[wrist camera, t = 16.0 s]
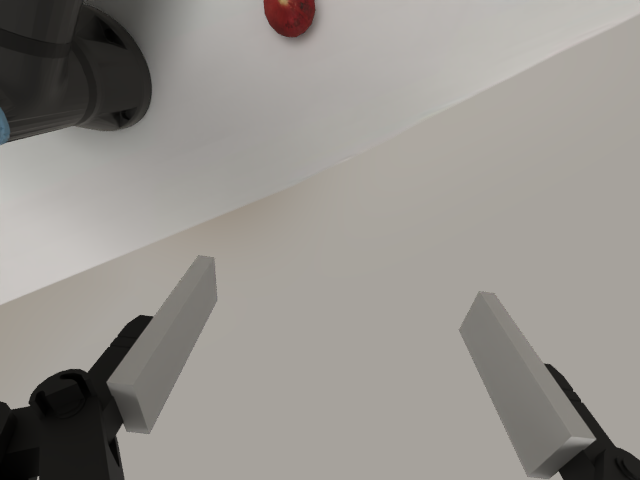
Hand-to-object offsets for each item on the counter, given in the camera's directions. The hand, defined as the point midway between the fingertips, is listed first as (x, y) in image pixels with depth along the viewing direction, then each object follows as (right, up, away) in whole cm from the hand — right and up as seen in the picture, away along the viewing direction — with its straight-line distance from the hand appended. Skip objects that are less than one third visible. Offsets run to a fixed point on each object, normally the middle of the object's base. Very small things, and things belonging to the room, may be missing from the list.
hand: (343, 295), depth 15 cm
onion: (-4, +32, +22) cm, 39 cm away
